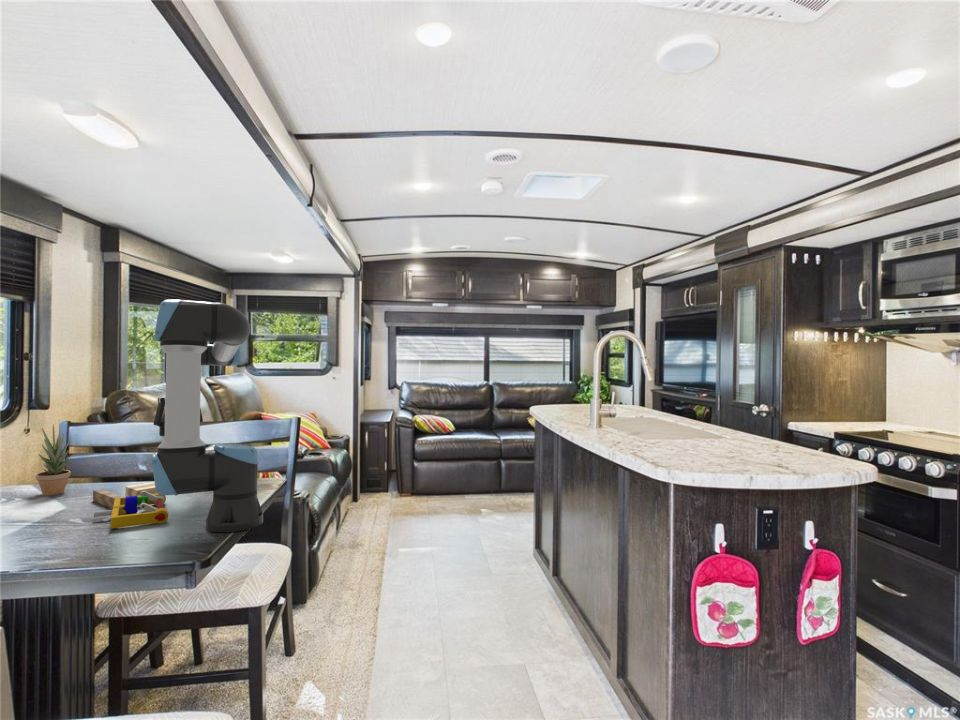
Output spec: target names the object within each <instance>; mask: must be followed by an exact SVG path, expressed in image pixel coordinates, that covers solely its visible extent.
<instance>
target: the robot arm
mask: <svg viewBox="0 0 960 720" xmlns="http://www.w3.org/2000/svg"><path fill="white" fill-rule="evenodd" d="M250 333H251V325H250V322H249V320H248V318H247V317H246V315H245V314H244V313H243V312H241V310H239V309H237V308H236V307H233V306H232V305H230V304H227V303H223V302H211V301H200V300H190V299H189V300H187V299H164V300H163V301H161V303H160V304H159V308H158V314H157V318H156V324H155V329H154V335H153V337H154V338H153V340H154V341H156V342H159V348H160V349H161V350H162V351H164V353H165V391H164V392H165V396H163V397H157V402H158V403H157V408H156V412H155V416H154V421H153V425H154V426H155V427H159V429H158V431H159V433H158V434H159V437H161V443H159V445H158V446H157V452H154V453H152V454H151V455H150V457H151V464H152V465H151V466H152V472H153V473H152V474H153V480H154V481H153V482H155V488H156V492H157V493H158V494H159V495H162V496H178V495H187V494H197V493H206V492H207V493H208V492H213V494H212V497H213V498H212V502H211V505H210V508H209V510H208V512H207V513H208V514H207V516H206V519H205V529H206V531H210V532H212V533H236V532H242V531H243V532H244V531H246V530H251V529H255V528H257V527H259V526H261V525H263V523H264V513H263V511H262V507H261V504H260V501H259V497H258V465H259V457H258V456H259V455H258V450H257V448H255V447H254V446H252V445H246V444H240V443H217V444H214V446H213V449H206V448H207V447H206V446H207V445H206V443H205V442H204V441H203V439H201V437H200V436H201V435H200V433H201V432H200V431H201V423H203V421H204V419H203V413H202V409H201V386H202V385H201V381H202V379H201V378H202V377H201V376H202V374H201V373H202V367H201V366H217V367H218V366H222V367H231V366H232V367H233V366H235V367H236V366H239V365H240V361H241V348H240V345H243V343H244V342H246V341H247V339H248V338H249V337H250ZM208 343H213V344H208Z"/></svg>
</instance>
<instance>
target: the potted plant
mask: <svg viewBox="0 0 960 720" xmlns="http://www.w3.org/2000/svg"><path fill="white" fill-rule="evenodd" d="M41 430H42V433H43V436H44V438H43V440H44V444H45V446H44V444H41V447H42V449H43V451H44V452H45V453H46V455H47V457H48V458H47V457H43V456H42V455H41V454H39V453H38V456H39V457H40V459H41V460H42V461H44V463H42V465H43V466H44V468H43V470H44V471H42V472H39V473H36V474H35V480H36V481H37V482H38V485H39V487H40V491H41V493H42V495H43V494H44V495H43V496H55V495H54V494H57V495H61V494H63V493H65V491H66V487H67V484H68V479H69V477H70V476H71V473H72V472H71V470H69V469H65V467H66V466H67V465H68V464H69V463H70V462H71V461H72V460H73V458H71V457H70V456H68V457H67V458H66V456H67V455H68V453H69V451H70V450H67V451H66V449H67V447H68V446H69V442H67V443H66V445H65V446H64V448H63V447H62V446H63V443H64V439H65V434H63V435H62V437H61V439H60V438H59V437H57V438H56V435H55V432H56V431H55V426H54V423H52V442H51V441H50V439H49V437H48V435H47V433H46V431H45V430H44V428H43V427H42V429H41ZM62 448H63V449H62ZM65 458H66V459H65ZM64 459H65V460H64ZM45 468H46V469H45ZM60 493H61V494H60Z"/></svg>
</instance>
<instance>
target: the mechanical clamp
mask: <svg viewBox="0 0 960 720" xmlns="http://www.w3.org/2000/svg"><path fill="white" fill-rule="evenodd" d="M166 496H167V495H165V496H162V495H159V494H158V493H156V494H150V493H148V492H146V491H142V492H141V495H140V496H129V497H125V496H124V497H125V498H120V499H115V501H114V505H113V509H108V510H100V511H94V512H93V517H94V518H97V517H98V518H99V517H106V516H107V517H108V516H110V530H111V529H117V528H118V529H119V528H127V527H128V528H129V527H137V526H143V525H152V524H159V525H160V524H163V523H166V522H167V521H168V519H169V511H168V510H167V509H166V508H164V505H165V503H166V501H167V497H166ZM153 505H154V506H153ZM155 506H156V507H155ZM138 508H140V509H141V510H143V511H144V512H138ZM145 511H146V512H145Z"/></svg>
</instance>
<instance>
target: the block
mask: <svg viewBox="0 0 960 720" xmlns="http://www.w3.org/2000/svg"><path fill="white" fill-rule="evenodd" d="M124 490H125V496H124V497H129V496H140V495H141V492H142V491H146V492H148V493H150V494H156V493H157V492H156V488H155V482H154V481H151V482H145V483H138V484H134V485H133V484H132V485H126V486H125V489H124Z"/></svg>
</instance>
